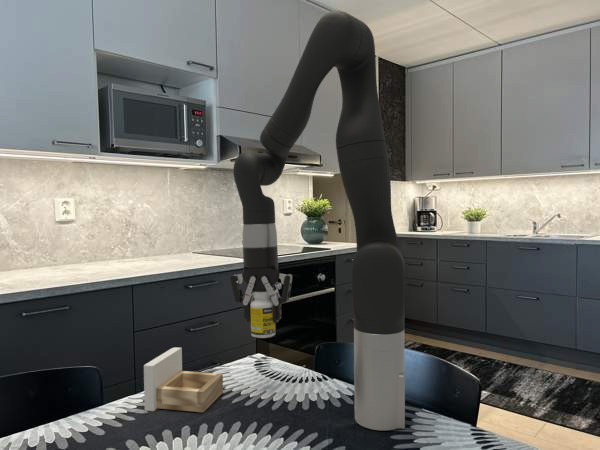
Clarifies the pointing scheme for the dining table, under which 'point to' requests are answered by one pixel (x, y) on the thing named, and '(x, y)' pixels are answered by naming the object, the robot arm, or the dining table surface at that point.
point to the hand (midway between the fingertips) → (263, 321)
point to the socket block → (189, 391)
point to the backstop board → (160, 374)
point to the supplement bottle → (262, 315)
